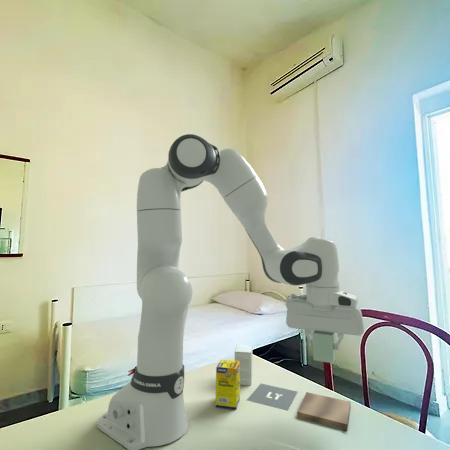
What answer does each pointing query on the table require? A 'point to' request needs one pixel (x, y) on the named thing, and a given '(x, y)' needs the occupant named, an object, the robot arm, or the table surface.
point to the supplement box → (227, 384)
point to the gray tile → (273, 396)
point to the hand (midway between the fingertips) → (324, 347)
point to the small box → (244, 363)
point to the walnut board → (325, 410)
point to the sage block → (323, 346)
